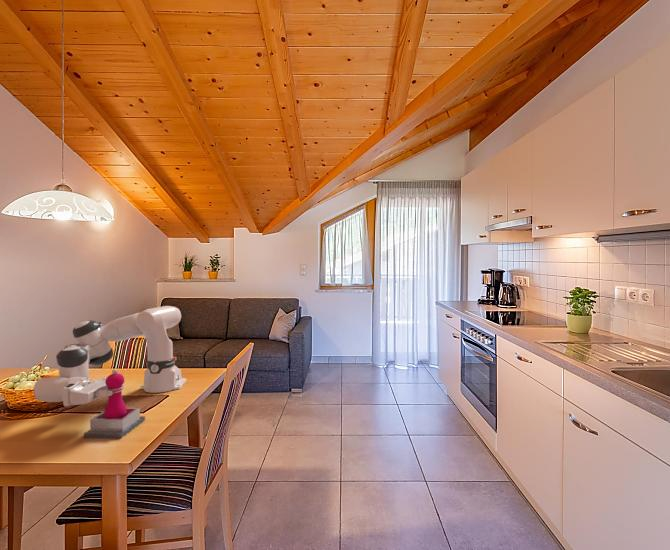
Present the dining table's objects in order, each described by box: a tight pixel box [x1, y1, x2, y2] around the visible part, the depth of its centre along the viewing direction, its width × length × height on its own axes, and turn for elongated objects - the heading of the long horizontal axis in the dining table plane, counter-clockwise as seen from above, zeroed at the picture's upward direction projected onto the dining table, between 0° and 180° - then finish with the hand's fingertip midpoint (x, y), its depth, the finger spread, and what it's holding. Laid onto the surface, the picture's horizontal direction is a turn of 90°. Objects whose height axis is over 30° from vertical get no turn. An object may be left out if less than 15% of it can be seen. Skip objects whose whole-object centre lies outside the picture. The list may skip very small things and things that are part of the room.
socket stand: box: [83, 407, 146, 439], centre depth 146 cm, size 16×13×6 cm
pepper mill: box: [103, 368, 127, 419], centre depth 146 cm, size 7×7×20 cm
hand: (117, 389), depth 146 cm, fingers closed on pepper mill, 5 cm apart
